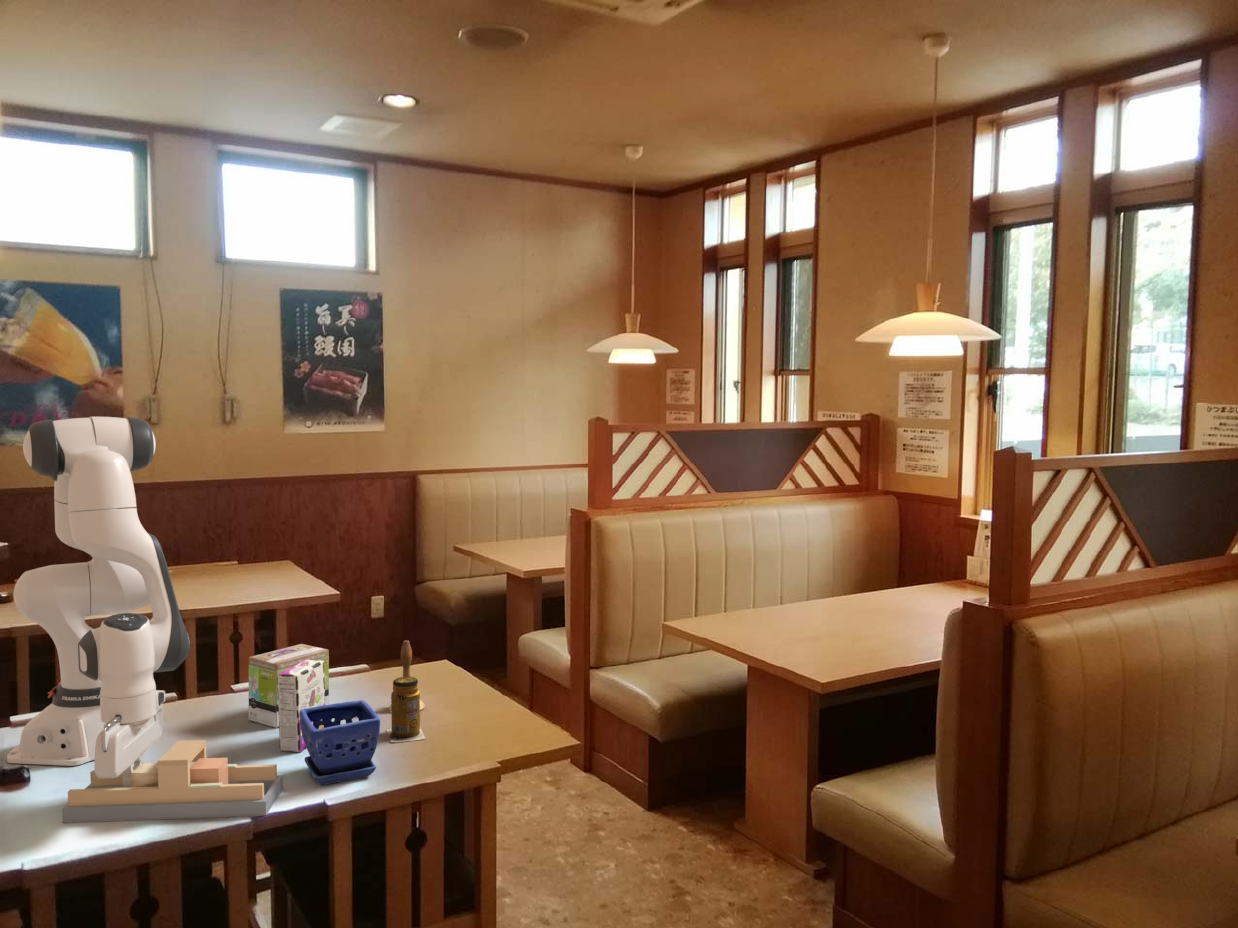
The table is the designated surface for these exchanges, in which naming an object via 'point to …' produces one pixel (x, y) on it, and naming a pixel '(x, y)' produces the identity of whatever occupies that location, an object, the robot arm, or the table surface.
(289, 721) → the candy bar box
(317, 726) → the flower pot
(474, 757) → the table surface
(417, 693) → the condiment
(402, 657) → the hand bell
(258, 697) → the tea box
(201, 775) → the terracotta cube
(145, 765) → the maple bar
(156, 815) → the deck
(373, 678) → the table surface
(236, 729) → the table surface
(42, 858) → the table surface
